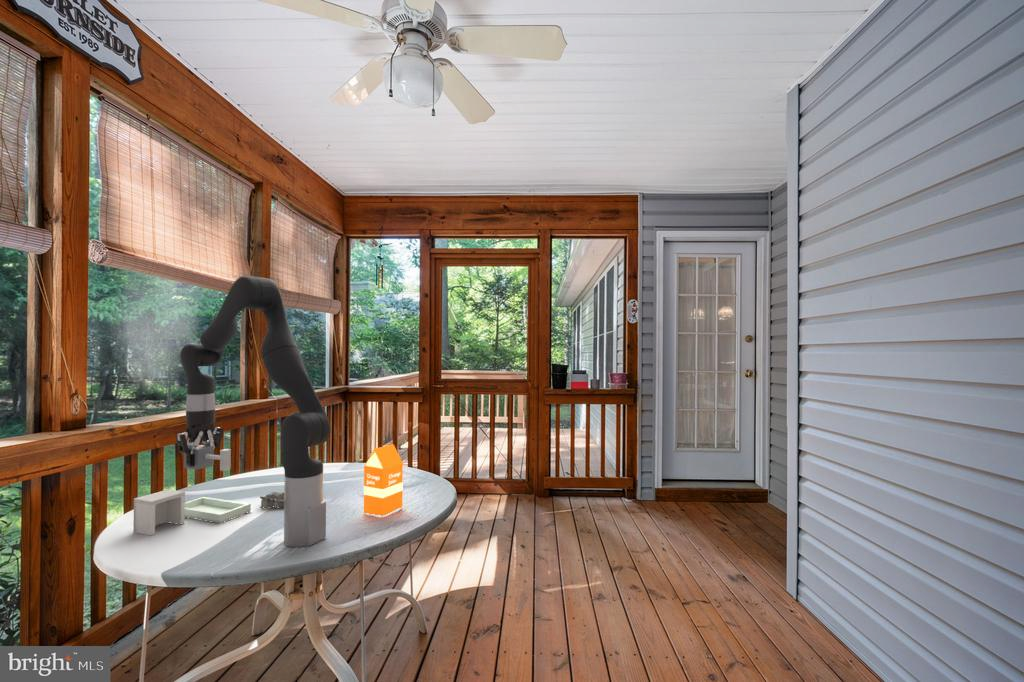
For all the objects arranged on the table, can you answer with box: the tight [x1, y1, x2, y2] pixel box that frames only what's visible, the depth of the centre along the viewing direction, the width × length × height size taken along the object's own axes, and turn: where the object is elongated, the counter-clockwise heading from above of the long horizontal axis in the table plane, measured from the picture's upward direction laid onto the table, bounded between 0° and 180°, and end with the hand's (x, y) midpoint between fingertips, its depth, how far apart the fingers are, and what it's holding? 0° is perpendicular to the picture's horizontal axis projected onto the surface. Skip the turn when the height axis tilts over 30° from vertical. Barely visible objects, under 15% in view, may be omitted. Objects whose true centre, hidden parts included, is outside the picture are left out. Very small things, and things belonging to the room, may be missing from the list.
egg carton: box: [259, 491, 284, 509], centre depth 150 cm, size 11×8×4 cm
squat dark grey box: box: [183, 444, 232, 472], centre depth 142 cm, size 15×5×6 cm, turn 70°
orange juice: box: [363, 443, 404, 516], centre depth 143 cm, size 8×9×20 cm
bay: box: [132, 488, 186, 536], centre depth 130 cm, size 7×9×9 cm
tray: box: [185, 496, 252, 524], centre depth 142 cm, size 20×10×2 cm, turn 70°
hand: (200, 463), depth 143 cm, fingers closed on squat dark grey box, 5 cm apart
